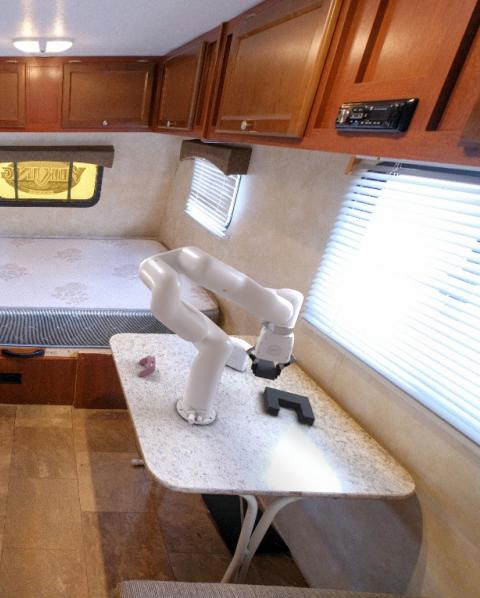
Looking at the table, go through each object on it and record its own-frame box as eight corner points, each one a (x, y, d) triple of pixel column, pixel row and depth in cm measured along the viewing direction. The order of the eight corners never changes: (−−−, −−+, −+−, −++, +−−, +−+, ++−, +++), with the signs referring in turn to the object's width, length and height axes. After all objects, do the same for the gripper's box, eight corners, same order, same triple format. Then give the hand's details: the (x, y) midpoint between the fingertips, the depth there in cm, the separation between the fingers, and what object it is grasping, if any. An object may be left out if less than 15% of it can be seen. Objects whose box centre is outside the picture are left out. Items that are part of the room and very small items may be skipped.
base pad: (312, 425, 120) (315, 418, 118) (266, 413, 124) (268, 406, 123) (305, 403, 130) (308, 397, 129) (263, 392, 134) (265, 386, 133)
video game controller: (147, 381, 138) (158, 369, 135) (137, 375, 137) (148, 363, 134) (147, 366, 147) (157, 355, 144) (138, 361, 146) (148, 349, 143)
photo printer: (246, 368, 148) (254, 343, 143) (242, 373, 145) (250, 346, 140) (221, 358, 154) (229, 332, 149) (217, 361, 151) (224, 336, 146)
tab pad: (274, 380, 119) (276, 373, 117) (254, 376, 120) (256, 368, 119) (270, 364, 127) (272, 357, 126) (252, 360, 129) (254, 353, 128)
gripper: (250, 327, 113) (237, 374, 120) (312, 338, 108) (294, 387, 115) (248, 316, 119) (236, 362, 127) (307, 327, 114) (290, 374, 122)
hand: (264, 373), depth 121 cm, fingers closed on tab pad, 6 cm apart
